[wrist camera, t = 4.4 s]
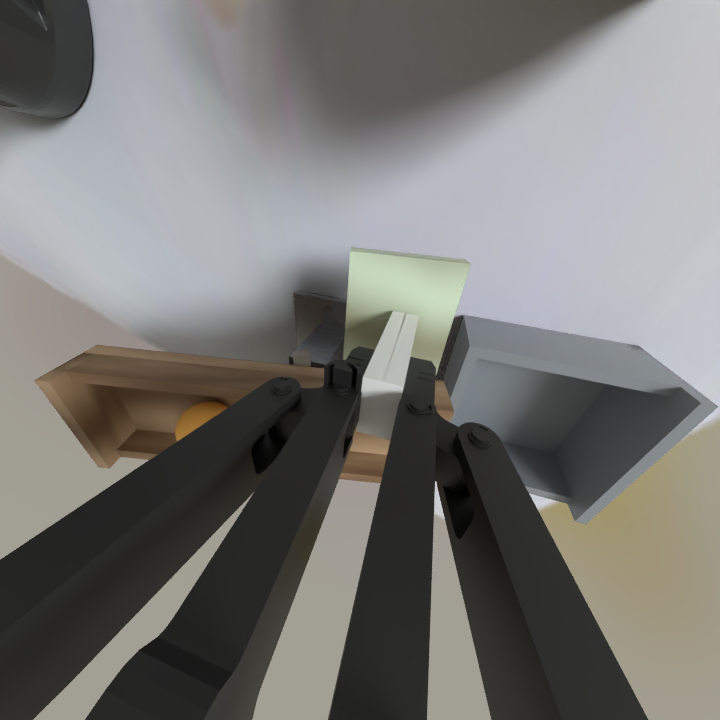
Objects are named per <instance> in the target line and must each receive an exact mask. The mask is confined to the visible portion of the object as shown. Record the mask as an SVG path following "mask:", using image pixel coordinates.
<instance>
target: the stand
mask: <svg viewBox="0 0 720 720" xmlns="http://www.w3.org/2000/svg"><path fill="white" fill-rule="evenodd" d="M294 294H295V315H296V337H297V348H296V349H295V350H294V352H295V351H297V350H307V351H309V352H310V353H311V367H315V368H324V366H325V365H326V364H327V363H328V362H331V361H333V360H343V352H344V337H345V322H346V307H347V299H341V298H336V297H330V296H325V295H319V294H314V293H308V292H303V291H297V292H296V293H294ZM294 352H293V353H294ZM293 353H292V354H291V355H290V356H289V364H290V365H294V363H293Z"/></svg>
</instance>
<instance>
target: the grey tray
mask: <svg viewBox="0 0 720 720" xmlns="http://www.w3.org/2000/svg"><path fill="white" fill-rule="evenodd" d="M442 381H444V383H445V386H446V389H447V392H448V394H449V397H450V400H451V403H452V406H453V409H454V414H453V417H452V419H451V421H448V422H450V423H452V424H454V425H456V426H458V427H460V425H462V424H464V423H467V422H474V423H479V424H482V425H484V426H486V427H488V428H490V429H491V430H492V431H493V432H495V433H496V434H497V436H498V437H499V438H500V440H501V441H502V443H503V445H504V447H505V449H506V451H507V453H508V455H509V457H510V459H511V460H512V462H513V464H514V466H515V468H516V470H517V472H518V474H519V476H520V478H521V479H522V481H523V483H524V485H525V487H526V489H527V491H528V493H530V494H534V495H537V496H541V497H545V498H548V499H552V500H556V501H559V502H563V503H567V504H568V506H569V508H570V511H571V513H572V516H573V518H574V520H575V521H576V522H579V523H583V524H587V523H588V522H589V521H590V520H591V519H592V518H593V517H594V516H595V515H597V514H598V513H599V512H600V511H601V510H602V509H603V508H604V507H606V506H607V505H608V504H609V503H610V502H611V501H613V500H614V499H615V498H616V497H617V496H618V495H619V494H620V493H622V492H623V491H624V490H625V489H626V488H627V487H628V486H629V485H630V484H632V483H633V482H634V481H635V480H636V479H637V478H638V477H640V476H641V475H642V474H643V473H644V472H645V471H646V470H648V469H649V467H651V466H652V465H653V464H654V463H655V462H656V461H658V460H659V459H660V458H661V457H662V456H663V455H664V454H666V453H667V452H668V451H669V450H670V449H671V448H672V447H673V446H675V445H676V444H677V443H678V442H679V441H680V440H681V439H682V438H684V437H685V436H686V435H687V434H688V433H689V432H690V431H692V430H693V429H694V428H695V427H696V426H697V425H698V424H699V423H701V422H702V421H703V420H704V419H705V418H706V417H707V416H708V415H710V414H711V413H712V412H713V411H714V410H715V409H716V408H717V407H718V406H717V405H716V404H714V403H713V402H712V401H710V400H709V399H708V398H706V397H705V396H704V395H702V394H701V393H700V392H699V391H697V390H696V389H695V388H693V387H692V386H691V385H689V384H688V383H687V382H685V381H684V380H683V379H681V378H680V377H679V376H677V375H676V374H675V373H674V372H672V371H671V370H670V369H668V368H667V367H666V366H664V365H663V364H662V363H660V362H659V361H658V360H656V359H655V358H654V357H653V356H651V355H650V354H649V353H647V352H646V351H645V350H643V349H642V348H641V347H639V346H635V345H629V344H624V343H618V342H613V341H607V340H601V339H596V338H590V337H584V336H579V335H573V334H568V333H562V332H556V331H551V330H545V329H539V328H534V327H528V326H523V325H517V324H511V323H506V322H500V321H494V320H489V319H483V318H478V317H472V316H466V315H464V316H463V319H462V322H461V325H460V328H459V331H458V334H457V337H456V340H455V343H454V346H453V349H452V352H451V355H450V358H449V361H448V364H447V367H446V370H445V373H444V376H443V379H442Z"/></svg>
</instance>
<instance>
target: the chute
mask: <svg viewBox="0 0 720 720" xmlns="http://www.w3.org/2000/svg"><path fill="white" fill-rule="evenodd" d="M469 267H470V263H469V262H468V261H466V260H465V259H457V258H447V257H438V256H429V255H419V254H410V253H401V252H391V251H382V250H373V249H363V248H354V247H352V248H351V250H350V262H349V277H348V292H347V307H346V322H345V337H344V352H343V360H346V358H348V355H349V354H350V352H351V350H353V349H355V348H356V347H358V346H360V347H365V348H369V349H374V350H375V349H376V347H377V345H378V343H379V341H380V338H381V336H382V334H383V332H384V330H385V327H386V325H387V323H388V321H389V319H390V316H391V314H392V312H393V311H397V312H402V313H408V314H413V315H418V316H419V318H418V323H417V328H416V332H415V337H414V342H413V346H412V351H411V356H410V357H414V358H419V359H424V360H428V361H432V362H433V364H434V366H435V367H436V374H437V371H438V368H439V364H440V361H441V358H442V355H443V351H444V348H445V345H446V342H447V338H448V335H449V332H450V329H451V325H452V322H453V319H454V316H455V313H456V309H457V306H458V303H459V300H460V296H461V293H462V290H463V287H464V283H465V280H466V277H467V274H468V271H469ZM293 363H294V365H286V364H276V363H266V362H257V361H247V360H238V359H228V358H218V357H209V356H199V355H190V354H180V353H170V352H161V351H151V350H141V349H132V348H122V347H113V346H103V345H96V346H94V347H93V348H91V349H89V350H87V351H85V352H84V353H82V354H80V355H78V356H77V357H75V358H73V359H71V360H70V361H68V362H66V363H64V364H63V365H61V366H59V367H57V368H55V369H54V370H52V371H50V372H48V373H47V374H45V375H43V376H41V377H39V378H38V379H36V380H35V382H36V383H37V385H38V386H39V387H40V389H41V390H42V391H43V393H44V394H45V395H46V397H47V398H48V399H49V401H50V402H51V404H52V405H53V406H54V408H55V409H56V410H57V412H58V413H59V414H60V416H61V417H62V419H63V420H64V421H65V422H66V424H67V425H68V427H69V428H70V429H71V431H72V432H73V434H74V435H75V436H76V438H77V439H78V440H79V442H80V443H81V444H82V446H83V447H84V448H85V450H86V451H87V452H88V454H89V455H90V457H91V458H92V459H93V461H94V462H95V463H96V465H97V466H98V467H100V468H110V467H111V466H112V465H113V464H114V463H115V462H116V461H117V460H118V459H119V458H120V457H128V458H138V459H147V460H150V459H152V458H153V457H155V456H156V455H158V454H159V453H161V452H162V451H164V450H165V449H167V448H168V447H170V446H171V445H173V444H174V443H176V442H177V440H176V436H175V428H176V424H177V422H178V420H179V418H180V416H181V415H182V414H183V413H184V412H185V411H186V410H187V409H188V408H190V407H191V406H193V405H196V404H198V403H201V402H217V403H221V404H223V405H225V406H226V407H230V406H231V405H233V404H234V403H236V402H237V401H239V400H240V399H242V398H243V397H245V396H246V395H248V394H249V393H251V392H252V391H254V390H255V389H257V388H258V387H260V386H261V385H263V384H264V383H266V382H267V381H269V380H271V379H273V378H277V377H291V378H294V379H296V380H297V381H298V382H299V383H300V385H301V388H320V387H322V386H323V385H324V368H315V367H311V353H310V352H309V351H307V350H297V351H295V352H294V353H293ZM435 377H436V376H435ZM434 404H435V406H436V409H437V412H438V413H439V415H440V416H441V417H443V418H444V419H445V420H447V421H451V419H452V417H453V414H454V409H453V406H452V403H451V400H450V397H449V394H448V392H447V389H446V386H445V383H444V381H439V380H436V381H435V401H434ZM356 429H357V426H356ZM356 429H355V431H354V435H353V443H352V445H351V448H350V451H349V453H348V456H347V459H346V461H345V464H344V467H343V469H342V472H341V475H340V477H339V479H345V480H354V481H364V482H374V483H381V480H382V475H383V471H384V466H385V461H386V457H387V453H388V448H389V444H390V440H386V439H383V438H379V437H375V436H372V435H368V434H364V433H361V432H357V431H356Z"/></svg>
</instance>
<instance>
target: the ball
mask: <svg viewBox="0 0 720 720" xmlns="http://www.w3.org/2000/svg"><path fill="white" fill-rule="evenodd" d="M227 408H228V407H226V406H225V405H223V404H221V403H217V402H201V403H198V404H196V405H193V406H191V407H190V408H188V409H187V410H186V411H185V412H184V413H183V414H182V415H181V416H180V418H179V420H178V422H177V424H176V428H175V436H176V440H177V441H179V440H180V439H182V438H183V437H185V436H186V435H188V434H189V433H191V432H192V431H194V430H195V429H197V428H198V427H200V426H201V425H203V424H204V423H206V422H207V421H209V420H210V419H212V418H213V417H215V416H216V415H218V414H219V413H221V412H222V411H224V410H225V409H227Z"/></svg>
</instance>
